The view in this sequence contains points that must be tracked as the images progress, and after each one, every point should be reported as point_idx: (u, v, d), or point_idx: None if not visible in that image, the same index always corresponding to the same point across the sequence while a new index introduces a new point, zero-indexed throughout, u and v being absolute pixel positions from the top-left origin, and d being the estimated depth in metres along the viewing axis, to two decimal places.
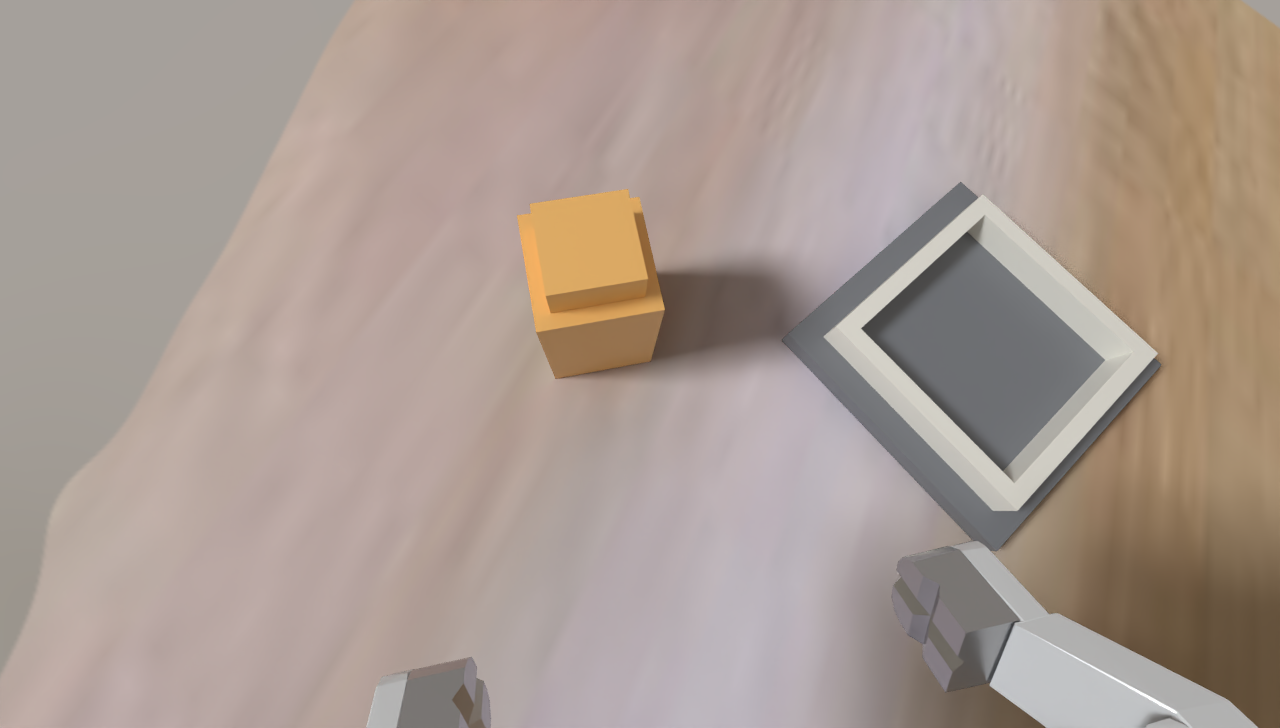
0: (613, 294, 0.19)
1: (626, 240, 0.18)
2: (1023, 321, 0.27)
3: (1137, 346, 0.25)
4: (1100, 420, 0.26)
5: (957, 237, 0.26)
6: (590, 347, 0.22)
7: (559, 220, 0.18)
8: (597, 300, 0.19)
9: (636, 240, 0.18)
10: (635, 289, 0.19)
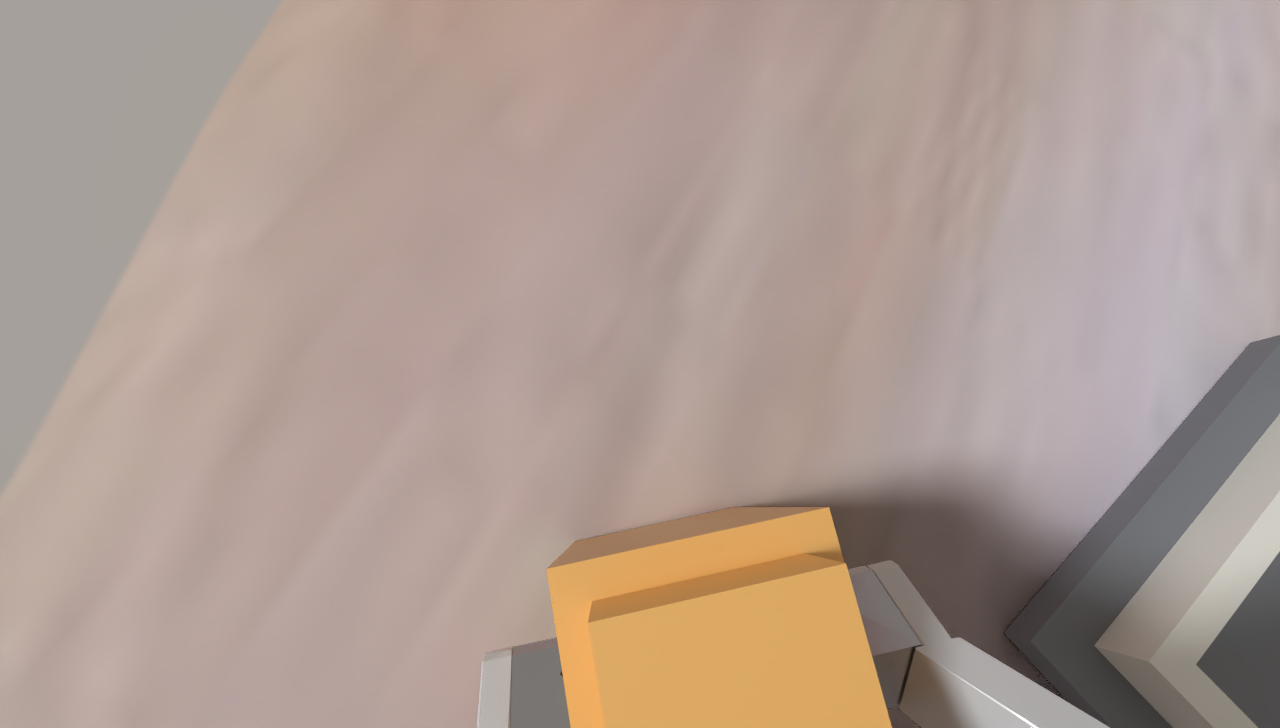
0: None
1: None
2: None
3: None
4: None
5: None
6: None
7: (671, 675, 0.07)
8: None
9: None
10: None
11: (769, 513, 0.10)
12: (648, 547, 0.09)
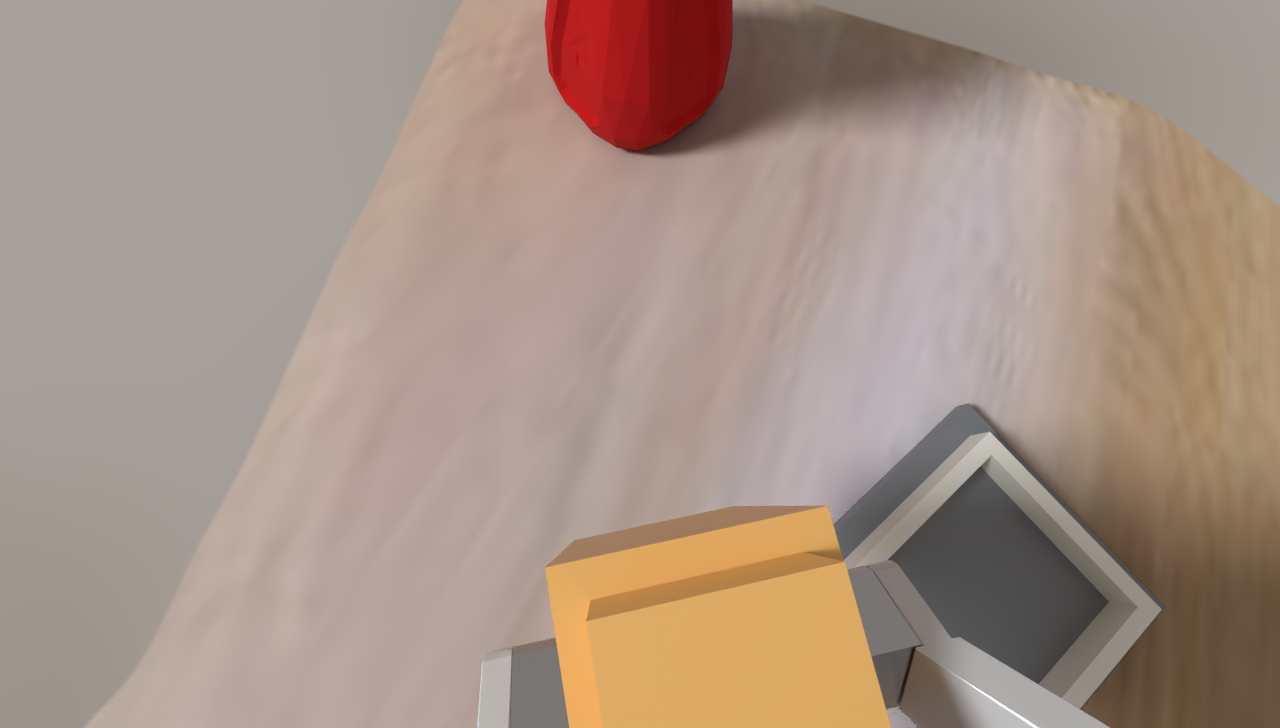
0: None
1: None
2: (1027, 559, 0.27)
3: (1141, 601, 0.25)
4: None
5: (963, 480, 0.26)
6: None
7: (669, 674, 0.07)
8: None
9: None
10: None
11: (768, 512, 0.10)
12: (647, 546, 0.09)
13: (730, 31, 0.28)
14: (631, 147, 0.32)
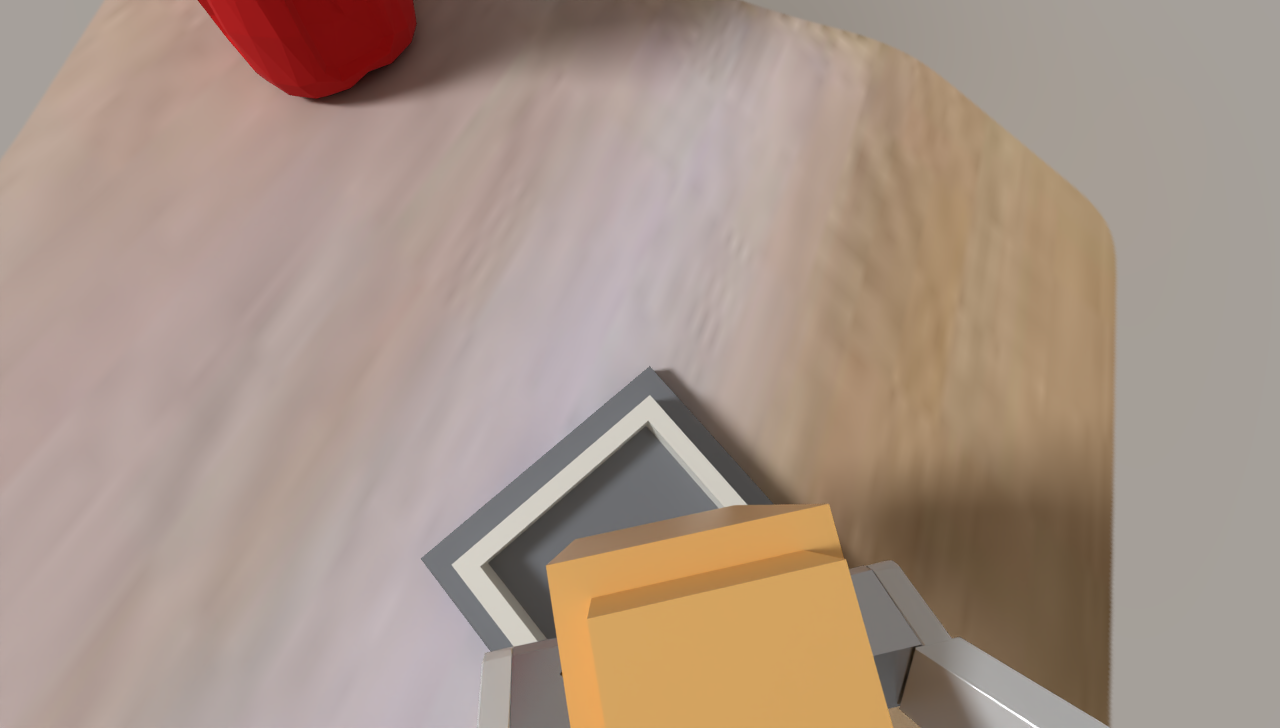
0: None
1: None
2: None
3: None
4: None
5: (611, 449, 0.23)
6: None
7: (670, 671, 0.07)
8: None
9: None
10: None
11: (769, 510, 0.10)
12: (648, 544, 0.08)
13: None
14: (304, 94, 0.29)
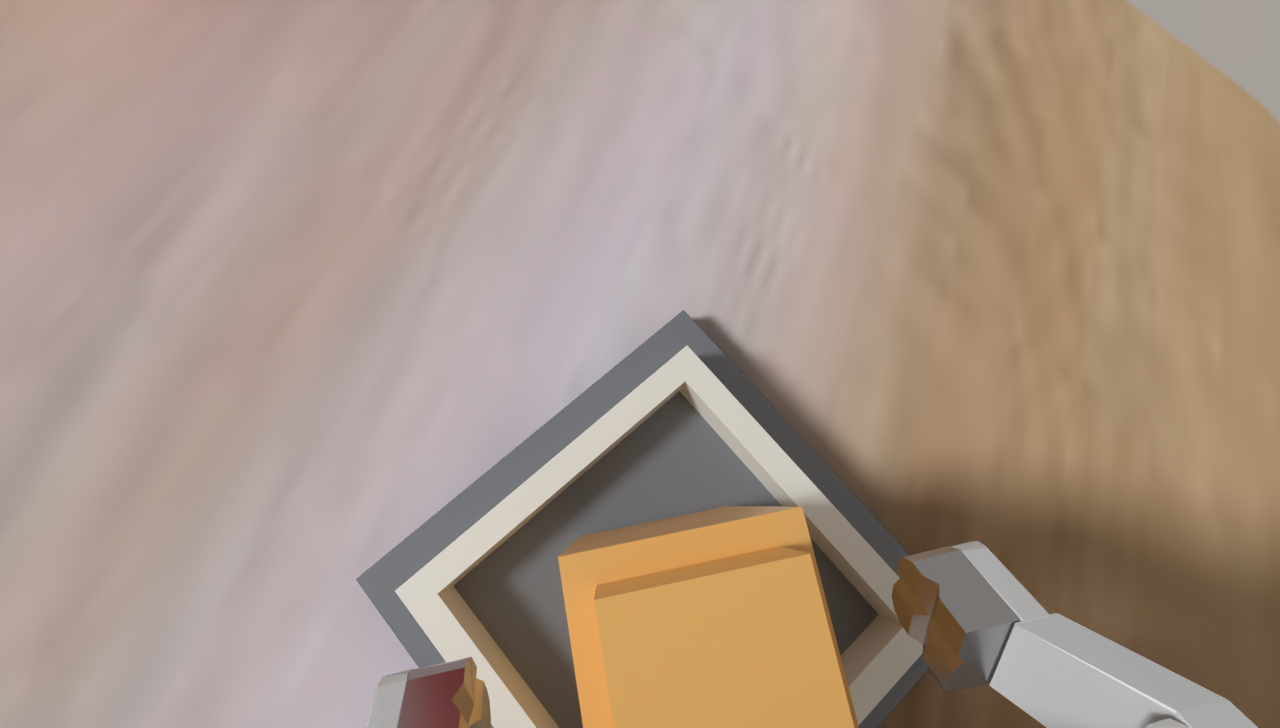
0: None
1: (816, 694, 0.08)
2: None
3: None
4: None
5: (632, 422, 0.16)
6: None
7: (662, 644, 0.08)
8: None
9: (838, 693, 0.08)
10: None
11: (753, 511, 0.12)
12: (645, 539, 0.10)
13: None
14: None
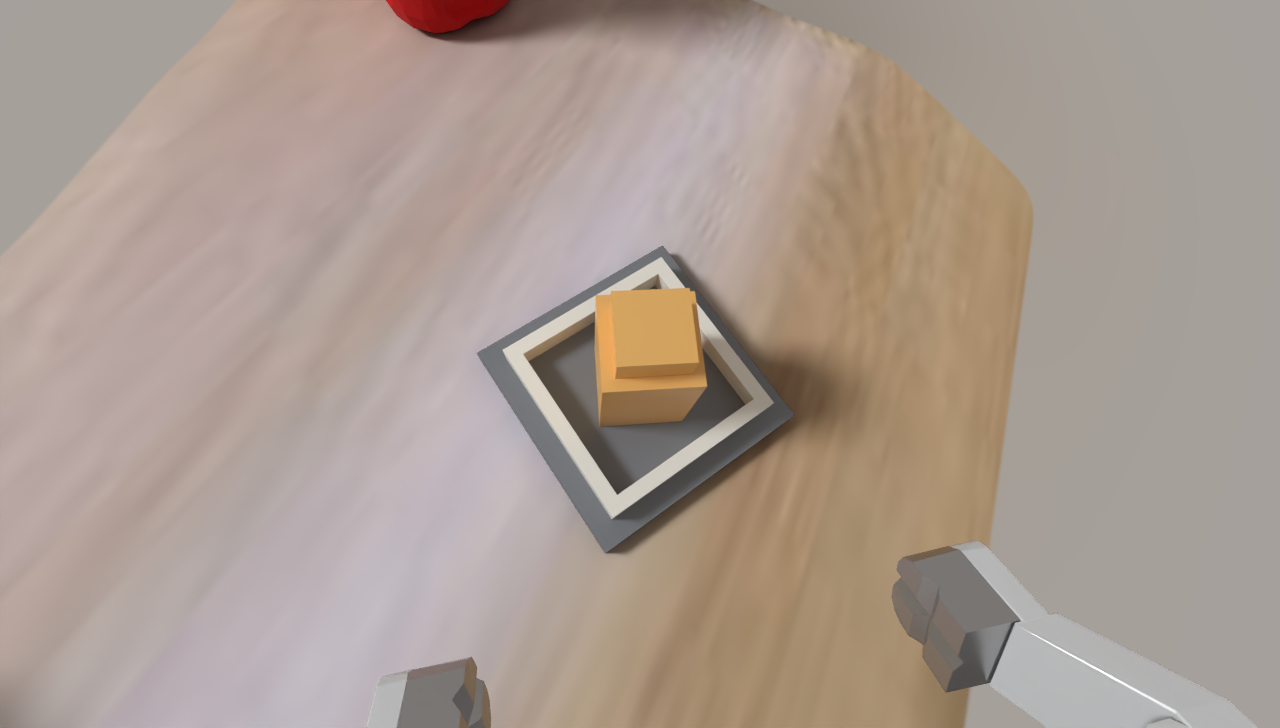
0: (668, 370, 0.23)
1: (684, 329, 0.23)
2: None
3: (757, 395, 0.30)
4: (727, 455, 0.30)
5: (628, 289, 0.31)
6: (638, 407, 0.26)
7: (633, 307, 0.23)
8: (654, 373, 0.23)
9: (692, 330, 0.23)
10: (687, 368, 0.23)
11: None
12: None
13: None
14: (424, 28, 0.38)
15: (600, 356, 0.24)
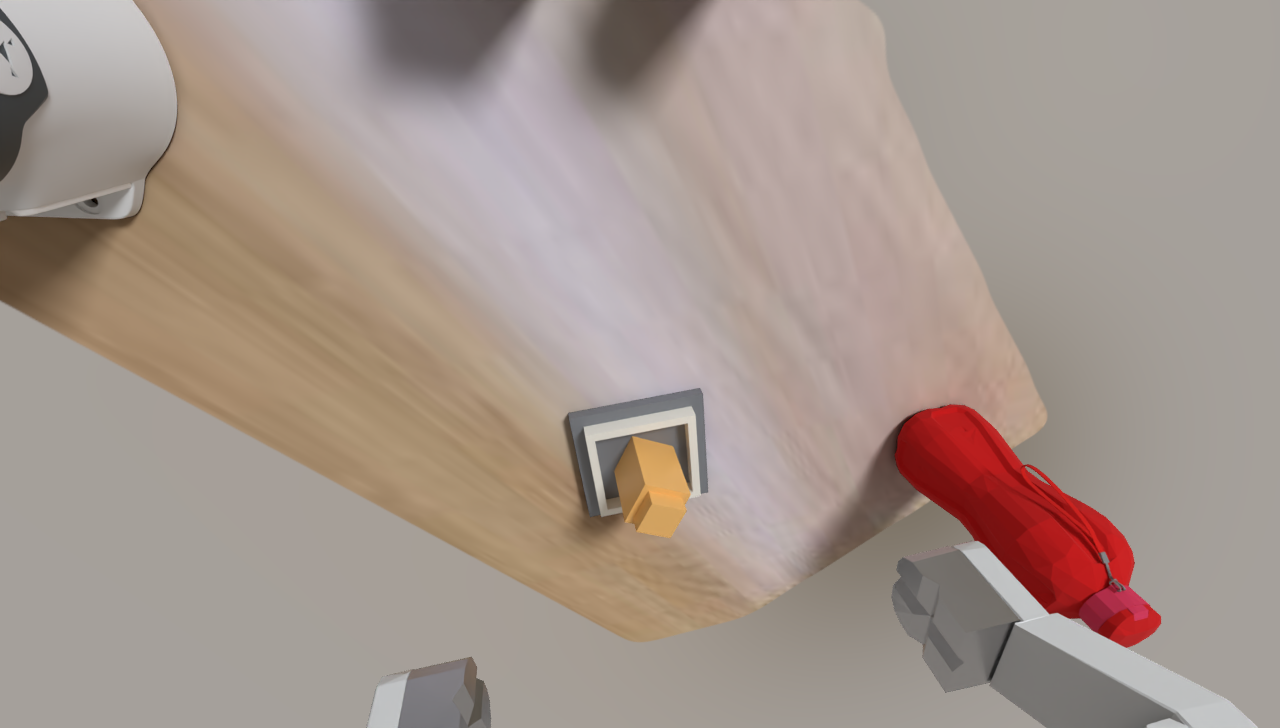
0: (639, 515, 0.48)
1: (653, 531, 0.48)
2: None
3: (608, 512, 0.56)
4: (586, 484, 0.55)
5: (692, 477, 0.56)
6: (631, 476, 0.51)
7: (674, 516, 0.48)
8: (641, 508, 0.48)
9: (651, 533, 0.48)
10: (636, 522, 0.48)
11: None
12: None
13: (923, 493, 0.59)
14: (908, 422, 0.59)
15: (661, 488, 0.48)
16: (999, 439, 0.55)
